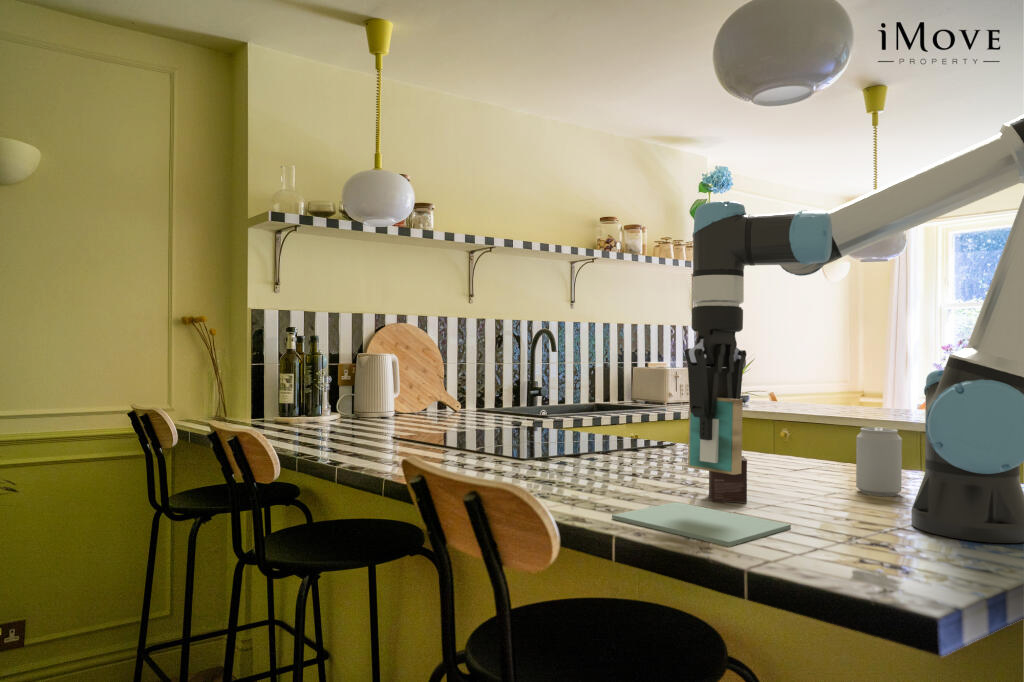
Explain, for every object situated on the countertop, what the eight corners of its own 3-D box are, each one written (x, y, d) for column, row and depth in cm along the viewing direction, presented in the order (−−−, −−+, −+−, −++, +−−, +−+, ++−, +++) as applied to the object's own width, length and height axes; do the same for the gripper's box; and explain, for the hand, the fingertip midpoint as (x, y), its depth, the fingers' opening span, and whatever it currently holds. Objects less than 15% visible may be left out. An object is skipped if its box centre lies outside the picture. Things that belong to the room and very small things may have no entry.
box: (747, 503, 123) (747, 460, 123) (710, 501, 125) (710, 458, 125) (743, 497, 129) (743, 455, 129) (708, 495, 131) (708, 454, 131)
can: (857, 495, 133) (857, 428, 133) (854, 488, 140) (855, 425, 140) (903, 498, 130) (904, 431, 130) (899, 491, 137) (899, 427, 137)
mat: (790, 528, 106) (790, 524, 106) (729, 546, 95) (729, 541, 95) (676, 505, 121) (676, 501, 121) (611, 518, 110) (611, 514, 110)
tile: (741, 473, 108) (742, 399, 109) (733, 474, 107) (734, 399, 107) (695, 466, 114) (696, 396, 115) (687, 467, 113) (688, 396, 113)
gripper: (723, 309, 119) (720, 454, 118) (666, 303, 109) (663, 461, 108) (766, 307, 113) (763, 460, 113) (709, 301, 103) (706, 468, 103)
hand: (714, 460), depth 111 cm, fingers closed on tile, 2 cm apart
